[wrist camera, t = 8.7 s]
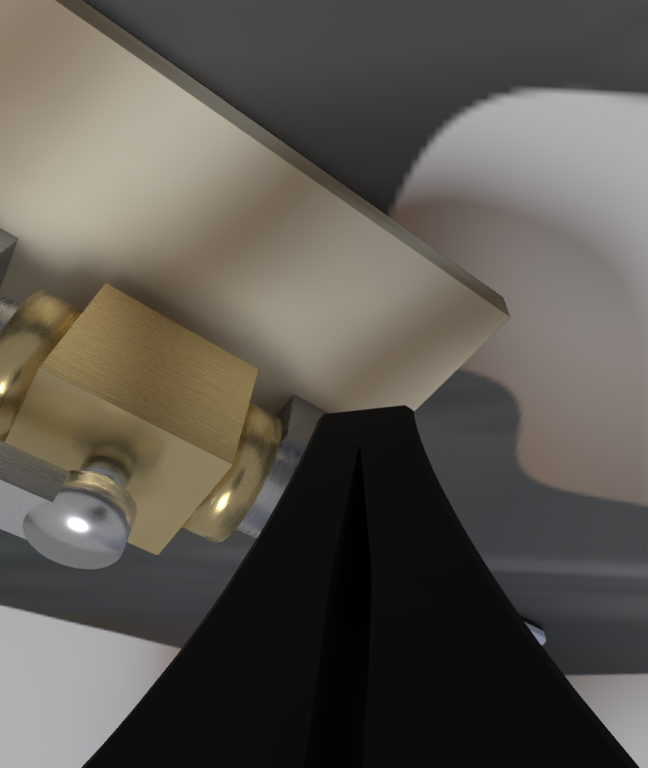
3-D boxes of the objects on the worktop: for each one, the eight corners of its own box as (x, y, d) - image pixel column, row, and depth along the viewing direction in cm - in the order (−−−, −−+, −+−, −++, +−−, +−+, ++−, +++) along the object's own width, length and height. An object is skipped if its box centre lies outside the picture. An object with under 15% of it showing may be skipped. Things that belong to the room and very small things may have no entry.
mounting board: (502, 297, 18) (510, 317, 17) (278, 523, 24) (275, 547, 23) (-33, -81, 13) (-65, -84, 12) (-126, 328, 20) (-152, 347, 19)
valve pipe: (382, 423, 19) (386, 560, 15) (309, 496, 22) (294, 634, 17) (-90, 151, 15) (-277, 234, 11) (-118, 279, 17) (-282, 390, 13)
